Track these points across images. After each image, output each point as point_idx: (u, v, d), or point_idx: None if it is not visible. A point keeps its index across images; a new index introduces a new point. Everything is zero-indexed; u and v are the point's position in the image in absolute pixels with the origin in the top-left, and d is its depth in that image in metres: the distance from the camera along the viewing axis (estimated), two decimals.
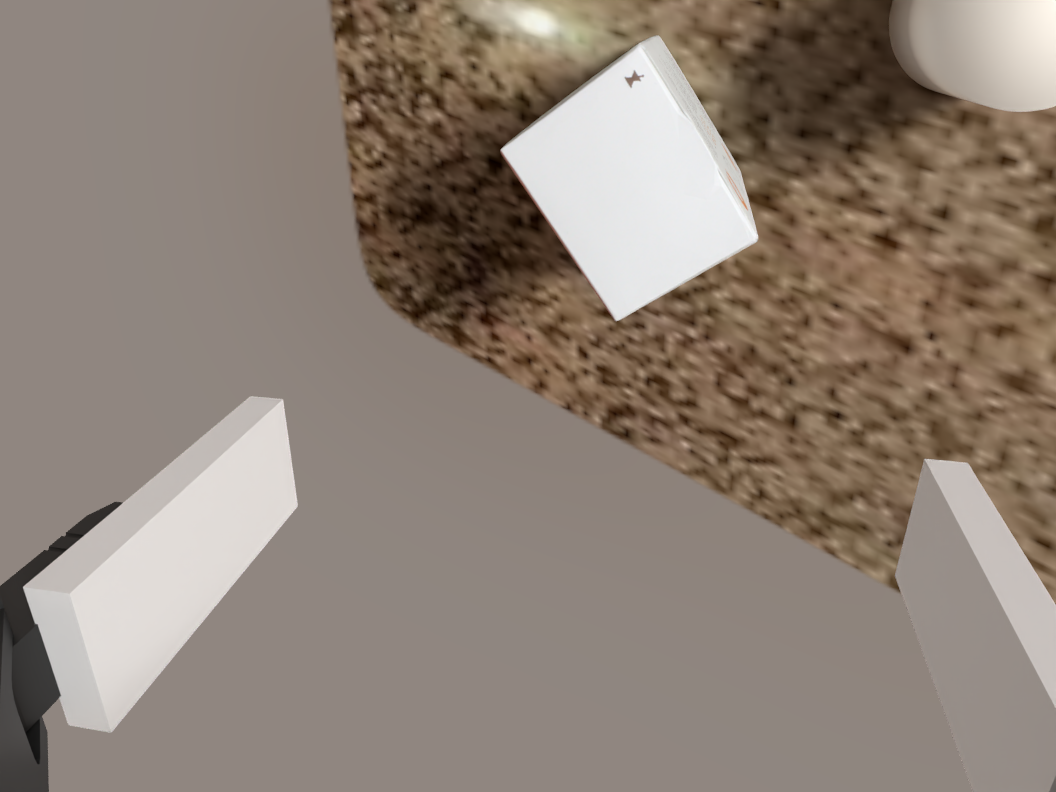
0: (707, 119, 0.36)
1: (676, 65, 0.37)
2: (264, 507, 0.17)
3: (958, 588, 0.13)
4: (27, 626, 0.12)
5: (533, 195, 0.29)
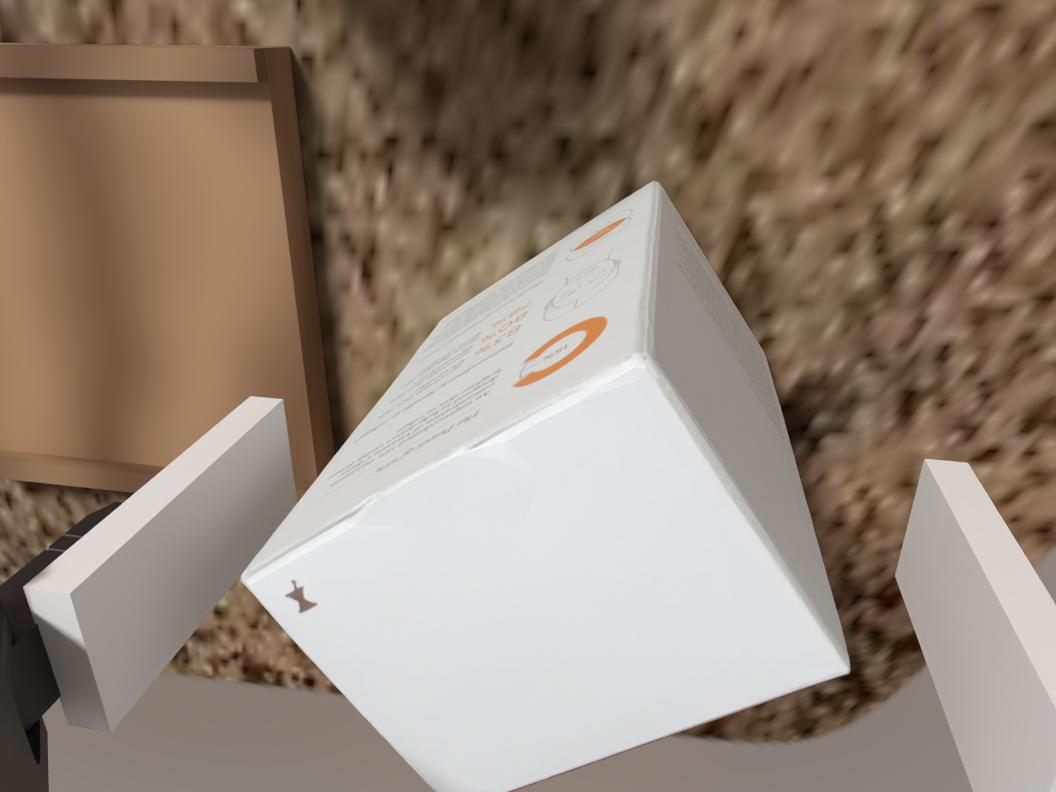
0: (532, 276, 0.20)
1: (465, 310, 0.23)
2: (264, 507, 0.17)
3: (957, 588, 0.13)
4: (27, 626, 0.12)
5: (539, 778, 0.14)
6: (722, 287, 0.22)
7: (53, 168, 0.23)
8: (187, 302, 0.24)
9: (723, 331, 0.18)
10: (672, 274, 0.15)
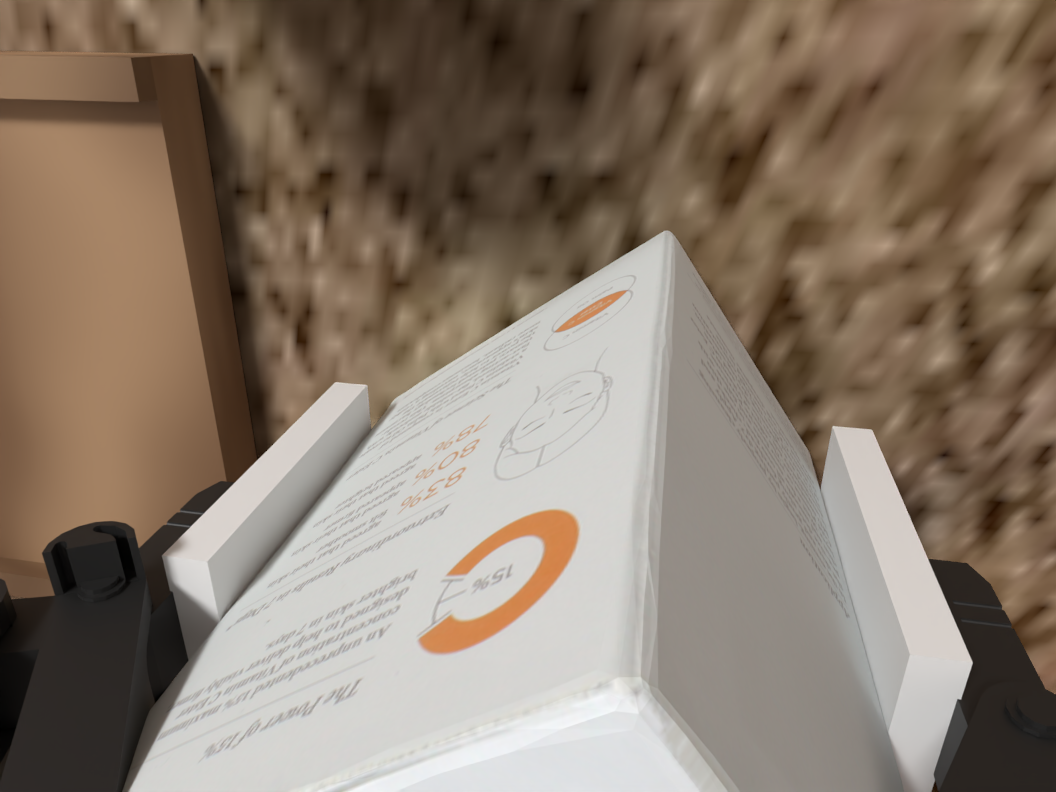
0: (500, 363, 0.15)
1: (419, 396, 0.17)
2: None
3: (849, 539, 0.14)
4: (163, 593, 0.12)
5: None
6: (755, 371, 0.17)
7: None
8: (75, 375, 0.19)
9: (762, 462, 0.12)
10: (690, 402, 0.10)
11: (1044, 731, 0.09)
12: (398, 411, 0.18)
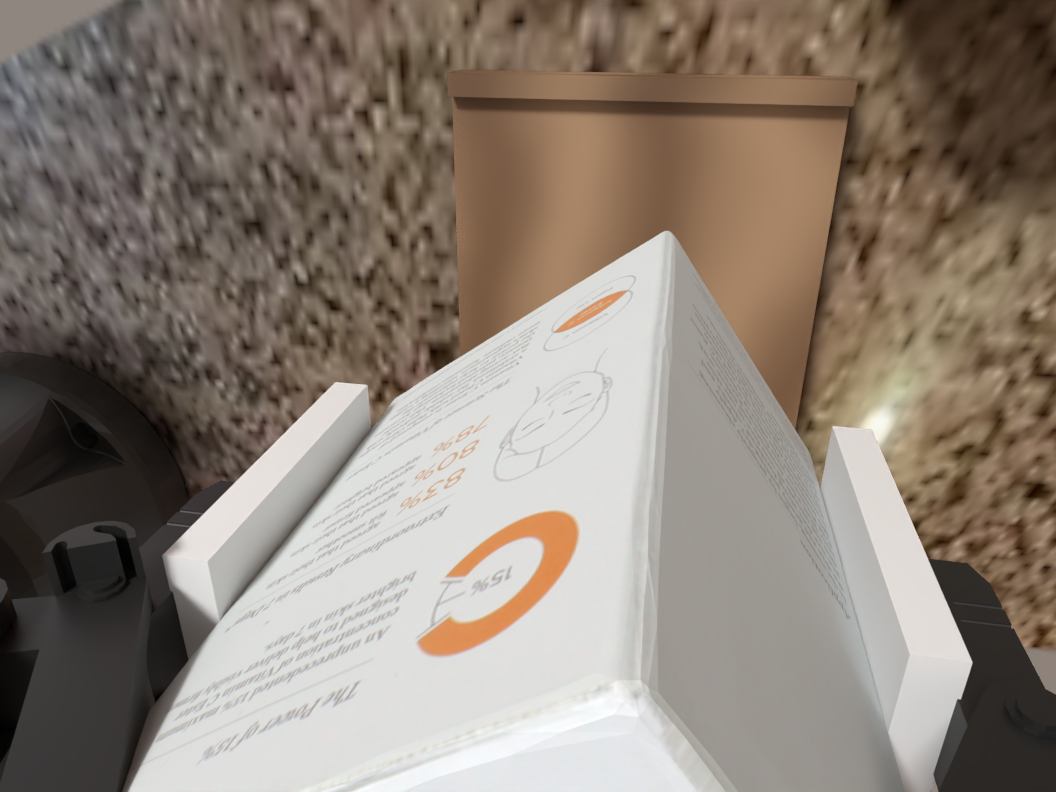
0: (500, 364, 0.15)
1: (419, 396, 0.17)
2: None
3: (848, 539, 0.14)
4: (163, 593, 0.12)
5: None
6: (755, 371, 0.17)
7: (636, 171, 0.29)
8: (722, 279, 0.30)
9: (762, 463, 0.12)
10: (690, 402, 0.10)
11: (1044, 731, 0.09)
12: (398, 411, 0.18)
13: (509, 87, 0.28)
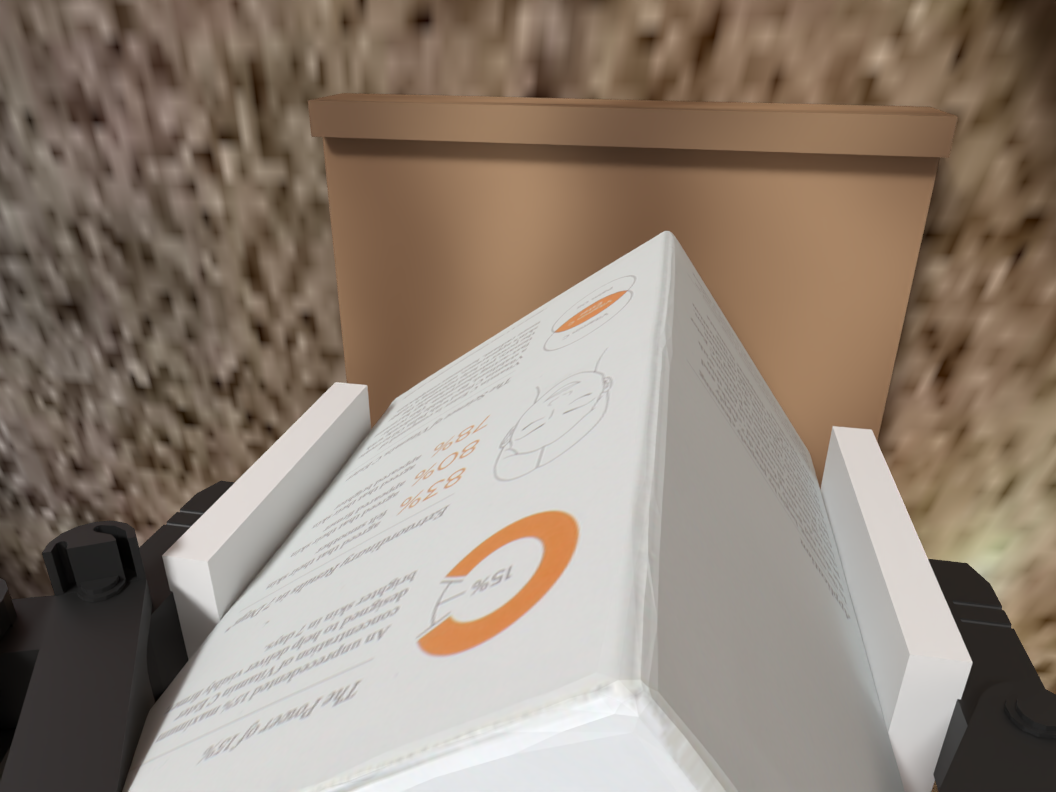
0: (500, 364, 0.15)
1: (419, 396, 0.17)
2: None
3: (848, 539, 0.14)
4: (163, 593, 0.12)
5: None
6: (755, 371, 0.17)
7: (603, 250, 0.19)
8: None
9: (762, 463, 0.12)
10: (690, 402, 0.10)
11: (1044, 731, 0.09)
12: (398, 411, 0.18)
13: (403, 123, 0.18)
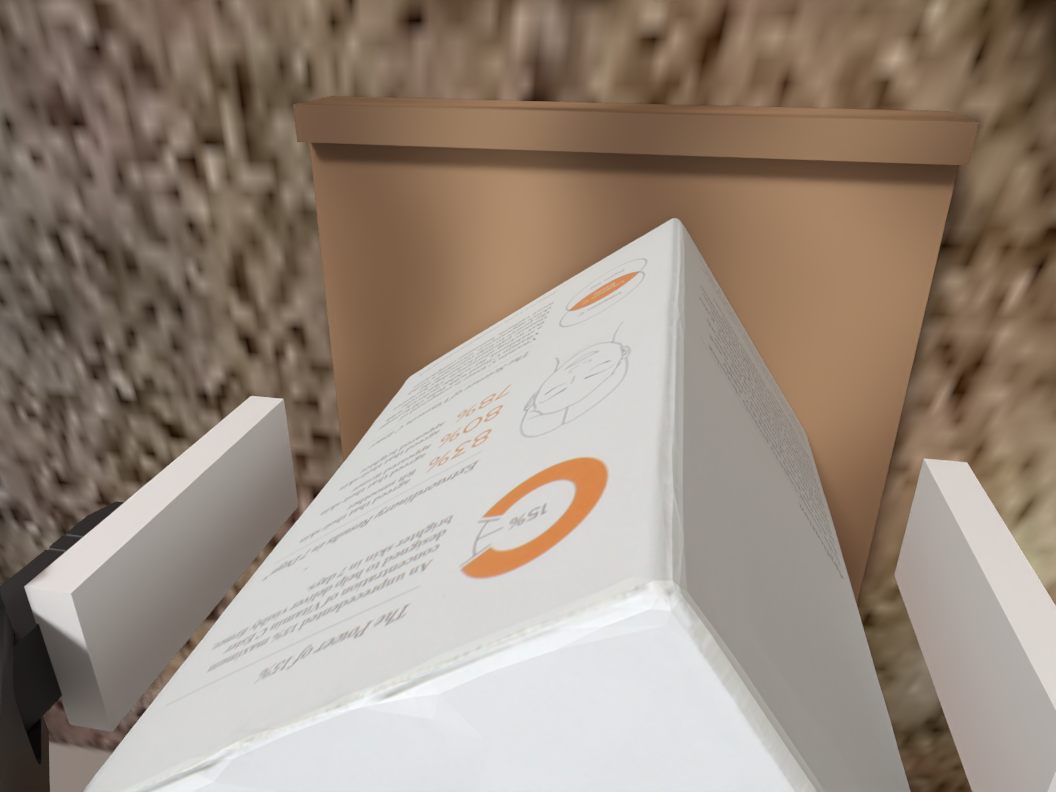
0: (517, 340, 0.16)
1: (435, 372, 0.18)
2: (265, 507, 0.17)
3: (957, 588, 0.13)
4: (28, 626, 0.12)
5: None
6: (756, 353, 0.17)
7: None
8: None
9: (765, 432, 0.13)
10: (702, 370, 0.11)
11: None
12: (414, 387, 0.18)
13: (393, 128, 0.17)
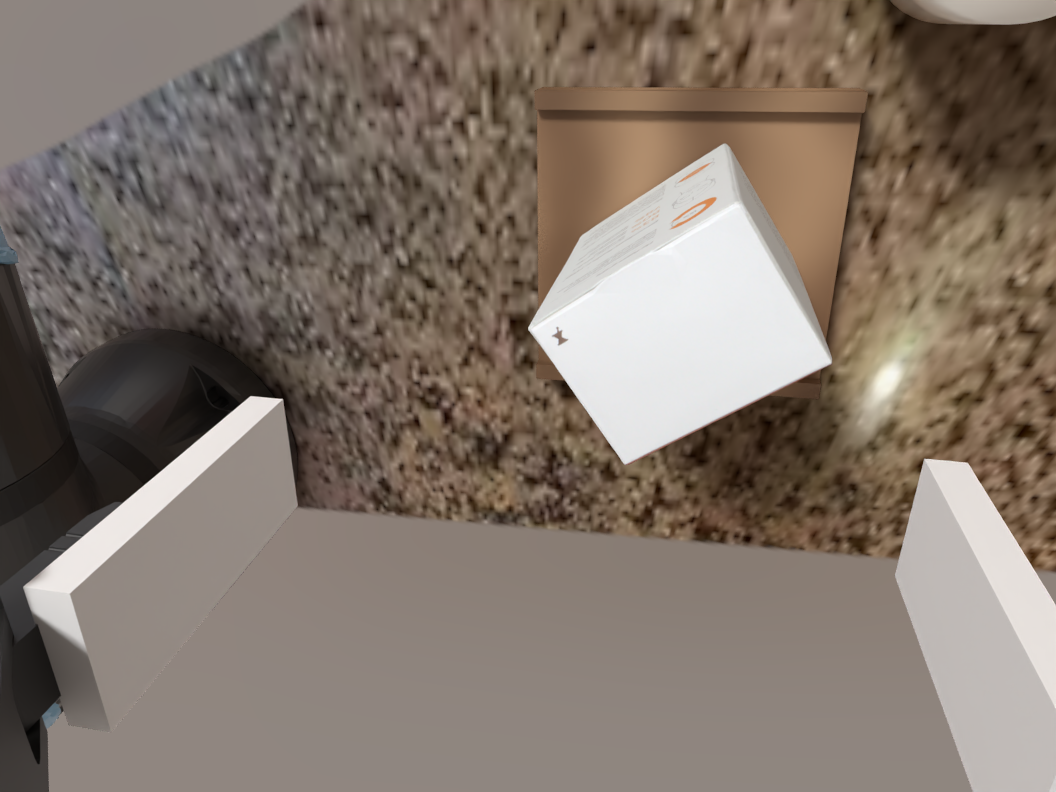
0: (652, 199, 0.34)
1: (603, 225, 0.36)
2: (264, 507, 0.17)
3: (957, 588, 0.13)
4: (27, 626, 0.12)
5: (673, 439, 0.27)
6: None
7: None
8: None
9: (769, 224, 0.31)
10: (743, 185, 0.29)
11: None
12: (591, 233, 0.36)
13: (585, 101, 0.35)
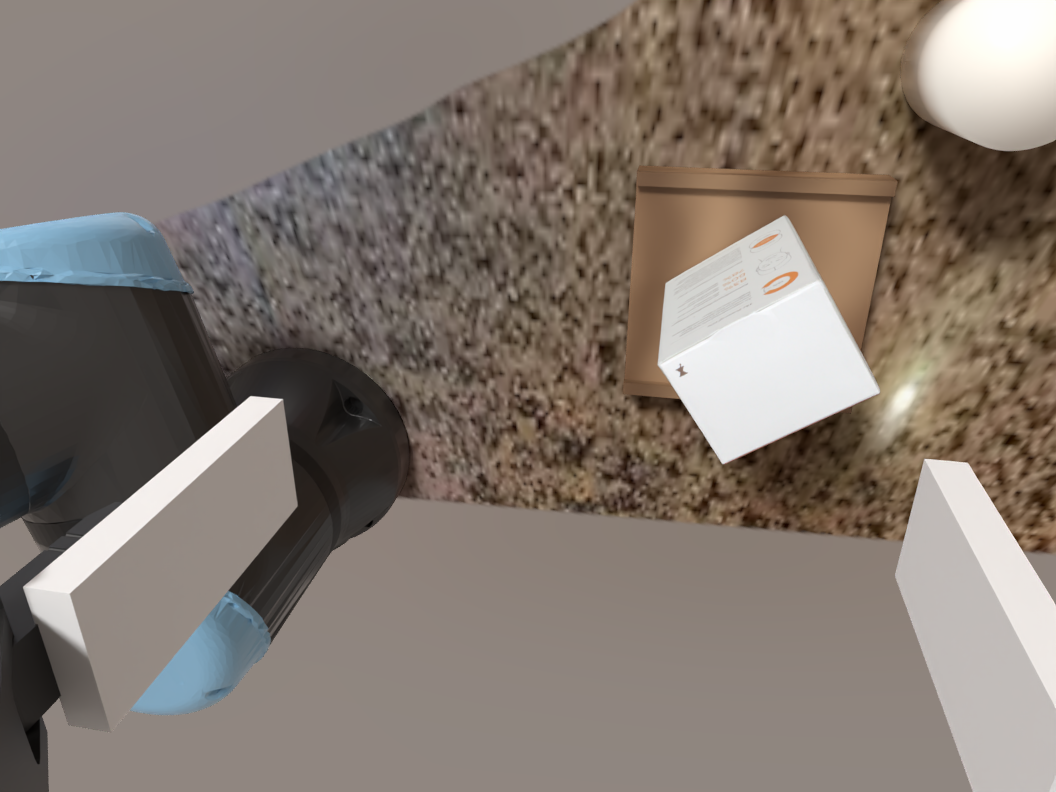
0: (731, 259, 0.44)
1: (687, 276, 0.46)
2: (264, 507, 0.17)
3: (957, 588, 0.13)
4: (27, 626, 0.12)
5: (760, 445, 0.37)
6: None
7: None
8: None
9: (824, 284, 0.41)
10: None
11: None
12: (678, 282, 0.46)
13: (677, 181, 0.45)
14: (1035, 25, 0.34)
